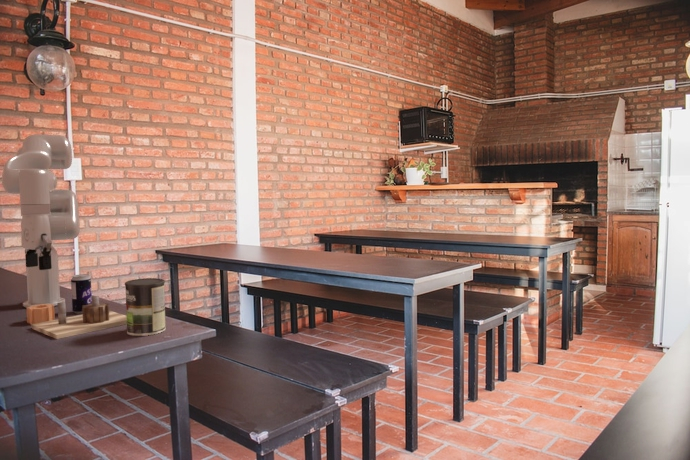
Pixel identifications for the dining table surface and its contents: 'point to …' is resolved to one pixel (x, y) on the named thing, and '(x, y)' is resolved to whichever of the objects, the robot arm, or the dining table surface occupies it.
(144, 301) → the coffee can
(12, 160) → the robot arm
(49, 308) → the loose gear
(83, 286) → the beverage can
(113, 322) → the gear board
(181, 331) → the dining table surface
